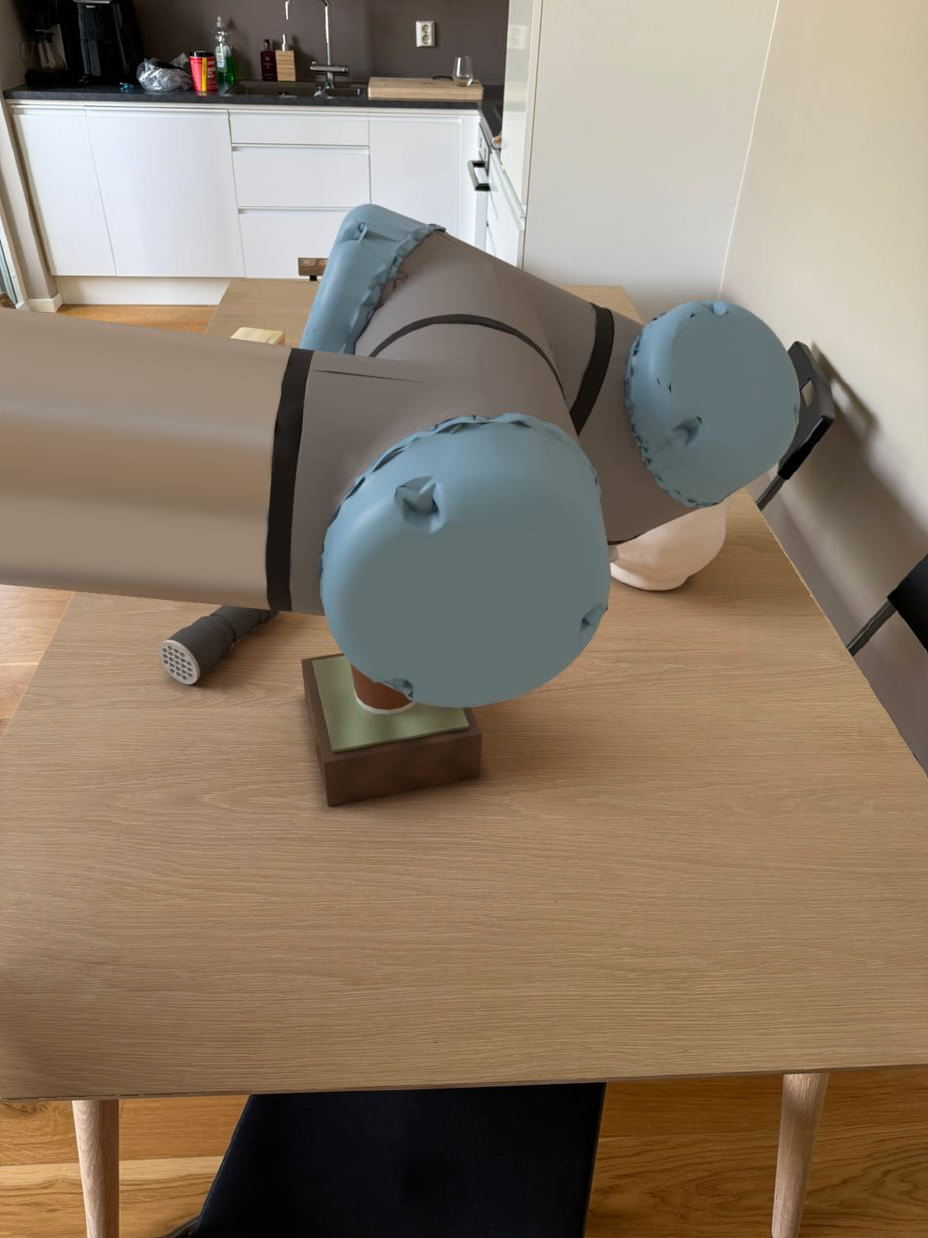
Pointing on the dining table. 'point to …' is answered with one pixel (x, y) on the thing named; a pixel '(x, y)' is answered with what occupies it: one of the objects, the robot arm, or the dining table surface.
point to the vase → (673, 549)
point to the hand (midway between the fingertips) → (435, 579)
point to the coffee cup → (378, 695)
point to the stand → (383, 739)
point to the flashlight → (208, 640)
